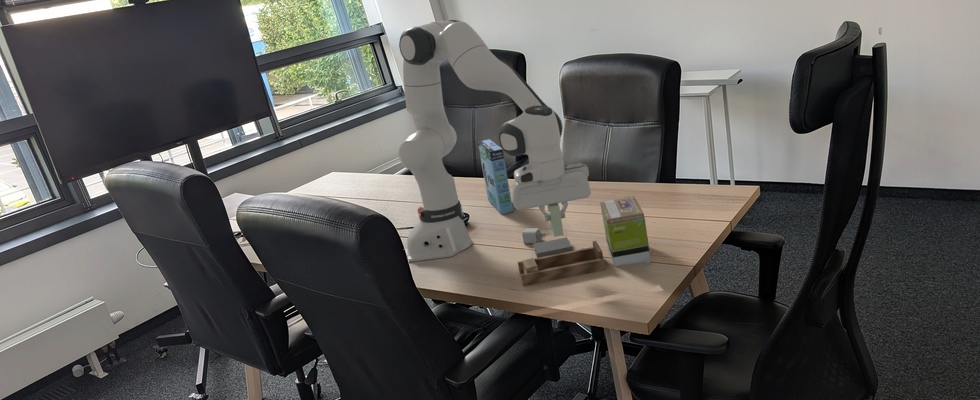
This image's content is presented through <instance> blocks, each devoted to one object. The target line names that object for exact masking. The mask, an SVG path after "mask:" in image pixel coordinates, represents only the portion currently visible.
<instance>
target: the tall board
mask: <svg viewBox="0 0 980 400" xmlns="http://www.w3.org/2000/svg"><path fill="white" fill-rule="evenodd" d="M546 206H547V213H550V216H551V217H550V218H551V220H550V221H549V224H550V230H551V232H552V234H553V236H554V238H555V237H561V236H564V228H563V222H562V218H561V214H560V210H561V209H560V205H559V203H556V204H551V205H546Z"/></svg>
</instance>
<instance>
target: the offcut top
mask: <svg viewBox="0 0 980 400" xmlns="http://www.w3.org/2000/svg"><path fill="white" fill-rule="evenodd" d="M534 259H535V258H534V257H531V258H527V259H523V260H521V261H523V267H524V269H525V271H526V273H530V272H535V271H538V266H537V264H536V262H535V261H534Z"/></svg>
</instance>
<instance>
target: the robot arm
mask: <svg viewBox="0 0 980 400" xmlns="http://www.w3.org/2000/svg"><path fill="white" fill-rule="evenodd" d="M398 42H399V43H398V44H399V45H398V46H399V52H400V54H401V56H402V58H403V59H402V60H403V62H402V63H403V64H402V74H403V75H402V78H403V88H404V97H405V98H404V100H405V107H406V111H407V112H408V113H409V114H410V115H411V116H412V118H413V120H414V123H415V127H416V130H415V132H413V133H412V134H409V135H408V136H407V137H406V138H405V139H404V140H403V141H402V143H401V144H400V145H399V147H398V152H397V154H398V158H399V161H400V163H401V164H402V166H404V168H406V169H408V170H409V171H410V172H411V174H412V176H413V177H414V178H415V181H416V183H417V186H418V189H419V191H420V197H421V202H422V206H418V207H417V213H418V219H419V221H418V222H417V223H416V225H414V227H413V228H412V229H411V230H410V231H409V233H408V235H407V238H406V239H407V240H406V243H407V245H406V246H405V247H404V249H405V250H406V253H407V257H408V260H409V262H408V263H412V262H419V261H427V260H434V259H435V260H436V259H442V258H443V259H444V258H450V257H454V256H455V255H457V254H458V253H459V252H461V251H462V252H463V251H464V250H465V249H467V248H469V247H470V246H471V245H472V244H473V240H472V238H471V237H470V234H469V232H468V229H467V228H466V224H465V222H464V211H463V207H462V204H461V201H460V200H459V197H458V191H457V187H456V182H455V178H454V177H453V176H452V174H449V173H448V171H447V169H446V167H445V165H444V163H443V158H444V157H445V156H447V155H448V154H450V152H452V151H453V148H454V147H455V146H456V143H457V138H458V137H457V132H456V130H455V129H454V127H453V126H452V125H451V124H450V122H449V120H448V117H447V114H446V111H445V106H444V99H443V89H442V79H441V71H440V65H441V64H442V62H443V61H446V60H448V62H449V65H450V66H451V69H452V70H453V72H454V73H455V74H456V76H457V77H458V79H459V80H460V81H461V82H462V83H463V85H465V86H466V87H467V88H469V89H473V90H477V91H491V92H497V93H502V94H505V95H507V96H508V97H510V98H511V99H512V101H513V102H514V103H515V104H516V105H517V106H518V107H519V108H520V109H521V111H522V113H521V114H519V115H518V116H517V117H514V118H513V119H510V120H508V121H506V122H504V123H503V124H501V126H500V128H499V131H498V140H499V144H500V147H501V148H502V149H503V152H505V153H506V154H508V155H509V156H511V157H518V156H522V155H525V156H526V155H527V156H528V163H527V164H525V165H523V166H521V167H519V168H517V169H515V170H514V172H513V178H514V182H513V184H512V201H513V206H514V207H513V208H515V209H516V210H518V211H523V210H528V209H532V208H538V209H539V211H540V212H541V213H542V215H544V220H545V222H550V220H551V218H550V217H551V216H550V213H549V212H547V211H545V210H546V206H547V205H551V204H556V203H558V204H561V205H562V207H561V209H560V214H561V219H566V211H567V208H568V206H569V204H568V202H570V201H578V200H582V199H587V198H589V197H591V194H592V190H591V186H590V183H589V180H588V177H589V176H590V175H589V174H590V171H589V167H588V165H586V164H584V163H582V162H578V163H574V164H566V165H565V160H564V155H563V151H562V150H561V137H562V134H563V128H564V127H563V122H562V120H561V118H560V116H559V115H558V113H557V112H556V111H554V110H553V109H552V108H551V107H549V106H548V105H547V104H546V103H545V102H544V101H543V100H542V99H541V98H540V97H539V95H538V94H537V93H536V92H535V91H534V90H533V88H531V86H530V85H529V84H528V83H527V82H526V80H525V79H524V78H523V76H521V75H520V74H519V73H518V71H516V70H515V69H514V68H513V67H512V66H510V65H507V64H505V63H504V62H503V61H501V60H500V59H499V58H498V57H496V55H494V54H493V52H491V50H490V49H489V47H488V46H487V45H486V43H485V41H484V40H483V38H482V37H481V36H480V35H479V33H478V32H477V31H476V30H475V29H474V28H473V27H472V26H471V25H469V23H467V22H465V21H461V20H457V19H449V20H440V21H439V20H438V21H432V22H430V23H426V24H422V25H419V26H412V27H409V28H408V29H406V30H404V31H403V32H401V35H400V37H399V41H398Z"/></svg>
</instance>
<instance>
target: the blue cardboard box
mask: <svg viewBox="0 0 980 400" xmlns="http://www.w3.org/2000/svg"><path fill="white" fill-rule="evenodd" d="M477 147H478V150H479V157H480V162H481V163H480V164H481V168H482V173H483V180H484V184H485V190H486V195H487V200H488V202H489V203H490V204H491V205H492V206H493V208H494V209H496V211H497V212H498V213H499V214H500V215H501V214H502V215H505V213H506V214H509V212H510V213H512V212H513V213H514V207H513V203H512V201H513V200H512V197H511V196H512V195H511V190H510V184H509V178H508V173H507V168H506V162H505V157H504V156H505V155H504V150H503V149H502V147H501V146H499V145H498V144H497V143H495V142H494V141H492V140H491V139H489V138H488V139H484V140H480V141H477Z"/></svg>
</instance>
